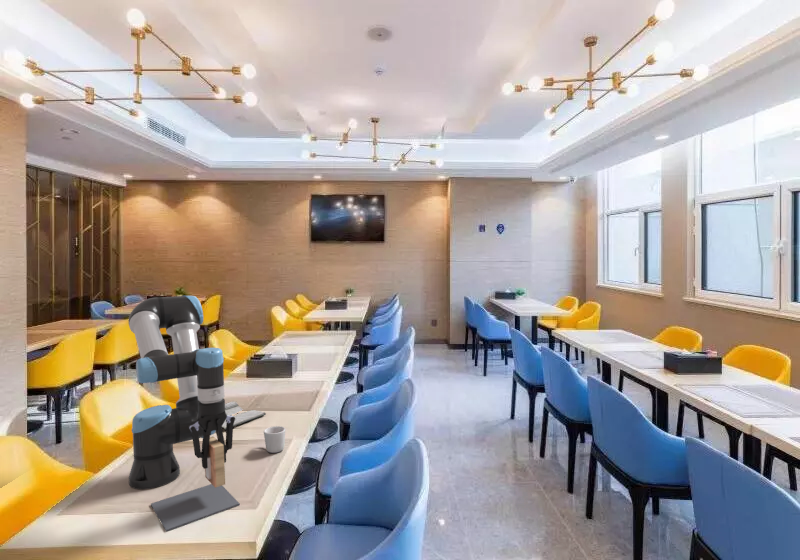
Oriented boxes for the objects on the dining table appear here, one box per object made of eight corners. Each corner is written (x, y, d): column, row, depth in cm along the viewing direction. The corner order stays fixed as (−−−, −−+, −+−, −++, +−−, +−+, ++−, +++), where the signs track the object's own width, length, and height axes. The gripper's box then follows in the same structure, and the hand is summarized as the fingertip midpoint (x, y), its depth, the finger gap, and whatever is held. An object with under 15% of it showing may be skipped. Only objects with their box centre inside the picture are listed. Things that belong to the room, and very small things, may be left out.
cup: (257, 448, 179) (256, 428, 179) (275, 442, 185) (274, 422, 184) (271, 456, 172) (270, 435, 171) (290, 450, 177) (289, 429, 177)
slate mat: (150, 505, 139) (150, 503, 139) (218, 483, 152) (218, 481, 152) (166, 531, 126) (166, 530, 126) (239, 505, 138) (239, 503, 138)
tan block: (205, 477, 145) (203, 439, 144) (215, 474, 147) (213, 436, 146) (215, 487, 138) (213, 447, 137) (225, 484, 140) (223, 445, 139)
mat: (224, 433, 196) (224, 422, 196) (189, 424, 208) (188, 414, 208) (266, 416, 216) (266, 406, 216) (231, 409, 228) (231, 399, 228)
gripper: (186, 408, 133) (190, 489, 134) (242, 396, 143) (245, 471, 145) (179, 402, 139) (183, 479, 140) (233, 391, 149) (236, 463, 150)
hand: (214, 475), depth 142 cm, fingers closed on tan block, 3 cm apart
